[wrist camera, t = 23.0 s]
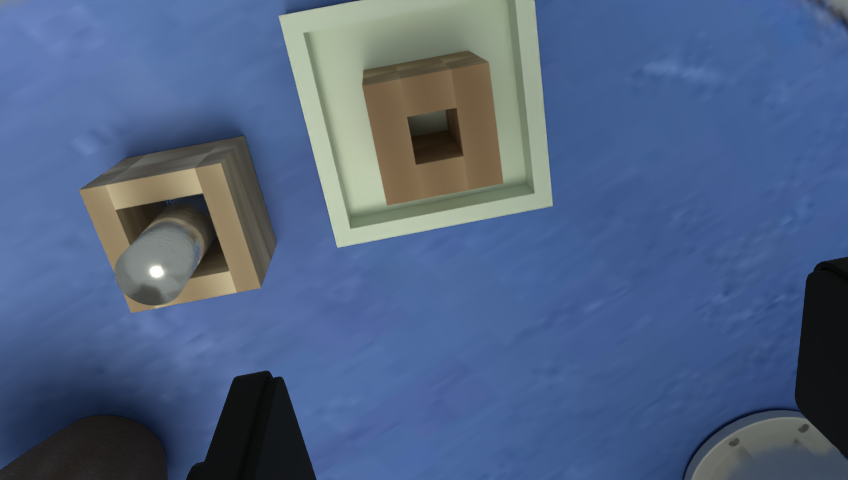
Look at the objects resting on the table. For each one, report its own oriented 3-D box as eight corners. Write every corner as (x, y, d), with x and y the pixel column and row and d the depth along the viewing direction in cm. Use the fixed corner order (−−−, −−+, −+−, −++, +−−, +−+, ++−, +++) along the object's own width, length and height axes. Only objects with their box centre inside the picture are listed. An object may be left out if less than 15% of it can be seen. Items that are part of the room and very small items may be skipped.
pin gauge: (222, 174, 35) (171, 239, 26) (237, 220, 36) (193, 298, 27) (173, 184, 35) (103, 252, 26) (189, 230, 36) (129, 311, 27)
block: (468, 50, 33) (488, 62, 27) (482, 153, 35) (503, 183, 30) (363, 70, 33) (362, 86, 27) (384, 172, 35) (386, 205, 30)
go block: (244, 135, 34) (220, 163, 29) (276, 243, 37) (260, 287, 31) (125, 158, 34) (78, 190, 29) (166, 265, 37) (131, 312, 31)
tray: (519, -31, 32) (531, -32, 30) (541, 192, 37) (552, 206, 35) (285, 14, 32) (278, 15, 30) (339, 231, 37) (337, 247, 35)
